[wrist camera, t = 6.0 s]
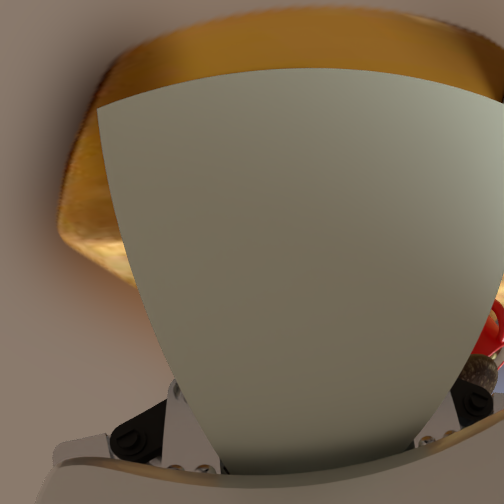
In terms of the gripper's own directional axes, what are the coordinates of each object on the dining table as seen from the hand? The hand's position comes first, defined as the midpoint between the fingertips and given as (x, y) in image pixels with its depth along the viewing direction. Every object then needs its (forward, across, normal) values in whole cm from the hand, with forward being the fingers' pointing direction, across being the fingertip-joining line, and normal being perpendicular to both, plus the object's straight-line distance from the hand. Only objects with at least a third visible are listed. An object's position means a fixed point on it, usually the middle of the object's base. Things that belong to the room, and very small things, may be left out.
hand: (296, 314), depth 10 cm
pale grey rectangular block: (+2, 0, 0) cm, 2 cm away
